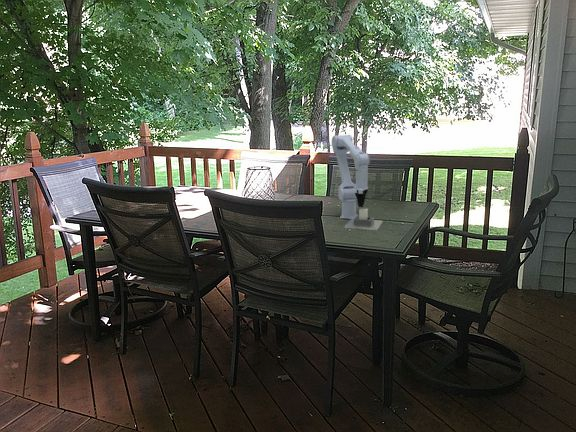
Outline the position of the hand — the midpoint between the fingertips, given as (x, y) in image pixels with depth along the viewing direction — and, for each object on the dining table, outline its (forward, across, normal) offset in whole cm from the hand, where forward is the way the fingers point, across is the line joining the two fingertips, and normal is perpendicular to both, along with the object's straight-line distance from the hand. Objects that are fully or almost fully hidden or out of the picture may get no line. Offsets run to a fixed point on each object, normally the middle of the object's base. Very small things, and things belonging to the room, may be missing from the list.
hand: (361, 205), depth 254 cm
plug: (+8, +3, +1) cm, 9 cm away
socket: (+9, +3, +2) cm, 10 cm away
